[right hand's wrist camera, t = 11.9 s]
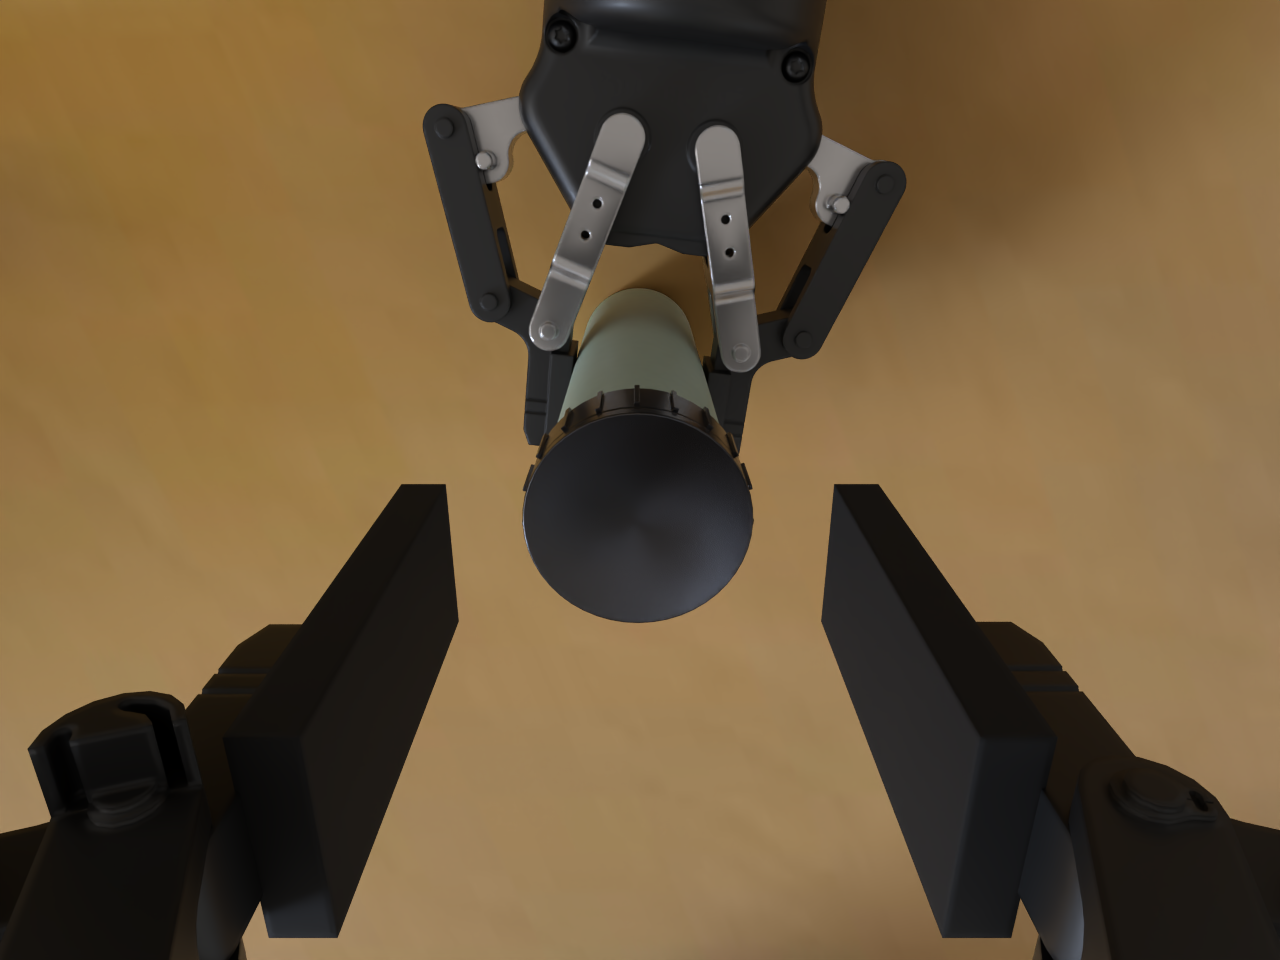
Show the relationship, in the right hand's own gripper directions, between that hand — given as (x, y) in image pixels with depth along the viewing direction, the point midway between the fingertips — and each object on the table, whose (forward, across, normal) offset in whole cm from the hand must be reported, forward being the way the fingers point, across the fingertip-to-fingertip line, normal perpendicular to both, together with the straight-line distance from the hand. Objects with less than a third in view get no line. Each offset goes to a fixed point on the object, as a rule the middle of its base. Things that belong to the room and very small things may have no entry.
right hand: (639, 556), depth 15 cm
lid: (+2, 0, 0) cm, 2 cm away
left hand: (+12, 0, -3) cm, 13 cm away
